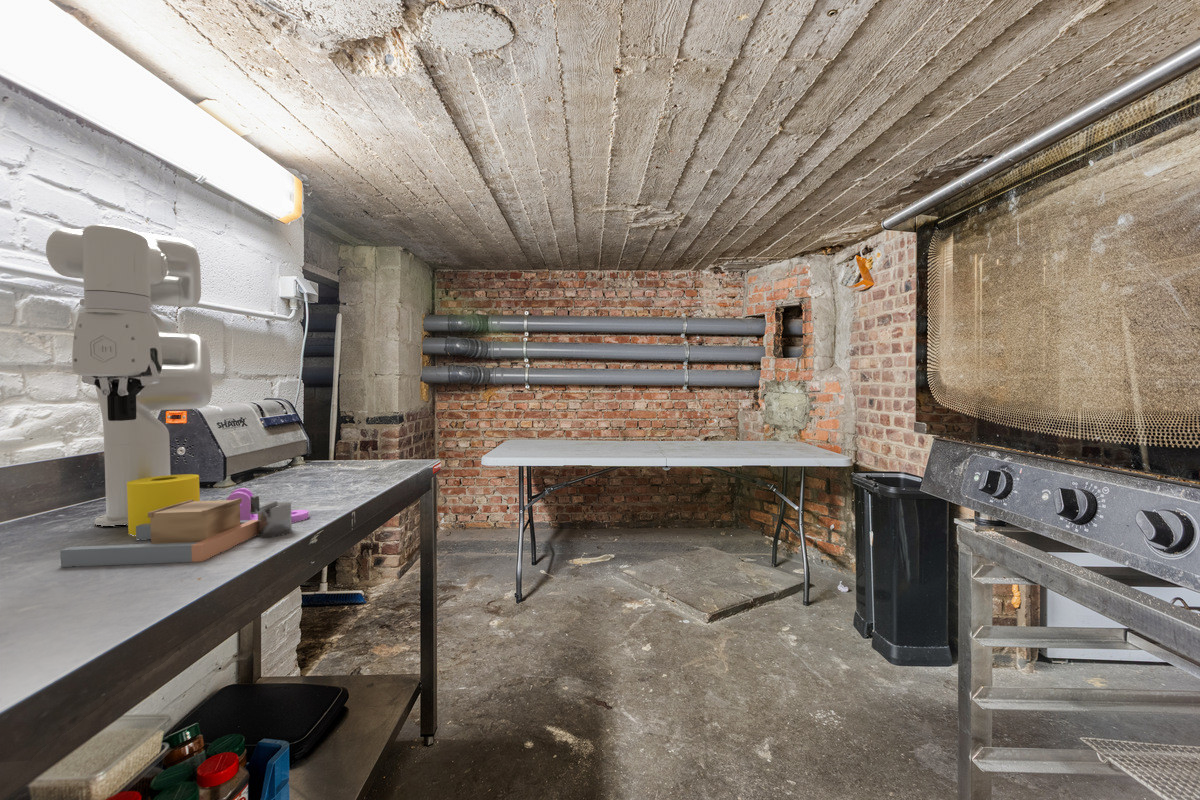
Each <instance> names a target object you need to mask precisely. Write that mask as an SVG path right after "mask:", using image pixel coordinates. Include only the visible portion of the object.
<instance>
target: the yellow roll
mask: <svg viewBox="0 0 1200 800" xmlns="http://www.w3.org/2000/svg"><path fill="white" fill-rule="evenodd" d="M200 493H201V492H200V475H199V474H193V473H188V474H187V473H185V474H182V473H181V474H170V475H166V476H156V477H148V478H142V479H137V480H132V481H129V482H127V501H128V525H127V527H128V533H127V534H128V535H129V534H132V535H136V526H138V525H141V524H149V523H151V519H150V517H149V518H148V512H151V511H154V510H158V509H161V508H164V507H168V506H171V505H175V504H178V503H181V502H185V501H188V500H194V501H201V499H200V498H201V497H200V496H201V495H200Z"/></svg>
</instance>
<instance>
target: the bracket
mask: <svg viewBox="0 0 1200 800" xmlns="http://www.w3.org/2000/svg"><path fill="white" fill-rule="evenodd" d="M253 496H254V492H253V491H252V490H250V489H249V488H246V487H241V488H237V489H234V491H232V492H231V494H230V495H229V496H228V497H226V499H225V500H235V499H238V498H242V503H240V520H258V514H250V509H251V502H250V497H253ZM309 512H310V511H309V510H307V509H295V510H294V509H293V510H292V509H291V519H292V522H294V523H296V522H295V521H299V522H301V521H300V520H303V521H305V520H304V519H306V520H308V519H309V518H308V517H309V516H310V515H309V514H310V513H309ZM307 518H308V519H307Z"/></svg>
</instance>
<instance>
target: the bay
mask: <svg viewBox="0 0 1200 800" xmlns="http://www.w3.org/2000/svg"><path fill="white" fill-rule="evenodd" d="M255 535H257V536H258V520H240V525H239V526H236V527H234V528H231V529H229V530H227V531H224V532H222V533H219V534H217V535H215V536H212V537H210V538H208V539H205V540H203V541H200V542H189V543H162V544H151V543H142V544H141V543H140V544H139V543H137V544H115V545H114V544H112V545H109V544H108V545H90V546H89V545H87V546H85V545H83V546H82V545H81V546H70V547H66V548H62V549H60V550H59V552H60V554H59V555H60V556H59V557H60V568H68V567H69V568H70V567H72V566H76V567H98V566H120V565H143V564H145V565H146V564H166V563H167V564H169V563H191V562H193V563H194V562H198V563H199V562H204V561H206V560H208V559H211V558H213V557H215V556H217V555H218V554H221V553H223V552H225V551H227V550H229V549H231V548H233V546H234V547H236V546H237V544H238V545H240V544H242V543H244V542H246V541H248V540H250V539H252V538H254V537H256V536H255ZM253 536H254V537H253ZM251 537H252V538H251ZM249 538H250V539H249ZM136 539H151V523H149V524H141V525H138V526H136V536H135V540H136ZM247 539H248V540H247ZM245 540H246V541H245ZM241 542H242V543H241ZM239 543H240V544H239ZM235 545H236V546H235ZM220 552H221V553H220ZM214 555H215V556H214ZM212 556H213V557H212ZM210 557H211V558H210Z"/></svg>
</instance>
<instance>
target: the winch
mask: <svg viewBox="0 0 1200 800" xmlns="http://www.w3.org/2000/svg"><path fill="white" fill-rule="evenodd" d="M250 502H251V509H250V514H256V515H258V535H257V536H258V537H259V536H261V537H260V538H273V537H272V536H275V537H280V536H284V535H287V534H289V532H290V531H291V532H292V531H293V526H292V525H293V523H292V519H291V511H292V502H289V501H283V502H278V500H271V501H269V502H266V503H263V504H261V505H260V496H259V495H256V496H254V495H253V497H250ZM291 532H290V533H291ZM286 533H287V534H286ZM283 534H284V535H283ZM279 535H280V536H279Z"/></svg>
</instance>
